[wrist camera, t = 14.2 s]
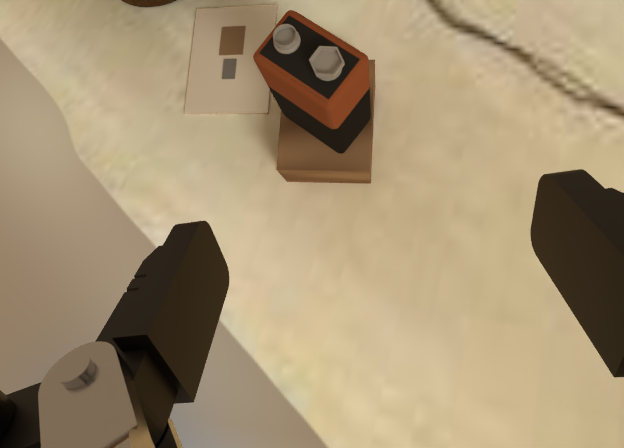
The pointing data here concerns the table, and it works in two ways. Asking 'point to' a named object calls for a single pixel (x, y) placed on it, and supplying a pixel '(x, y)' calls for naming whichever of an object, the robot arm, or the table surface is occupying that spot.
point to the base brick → (325, 152)
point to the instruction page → (229, 60)
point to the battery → (317, 80)
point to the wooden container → (148, 2)
